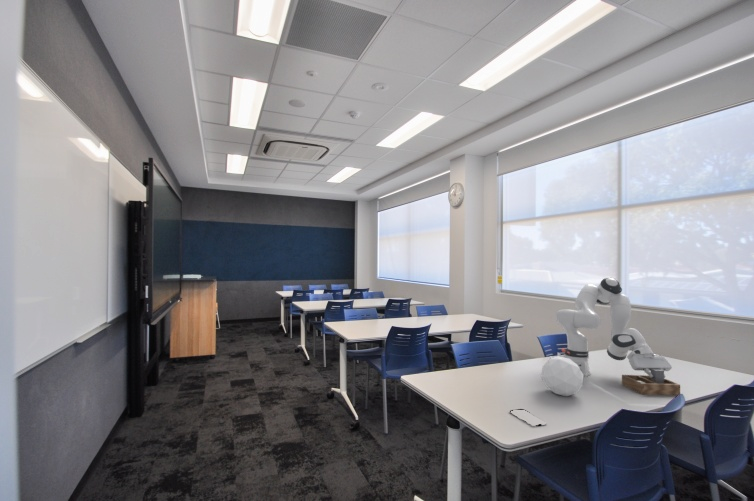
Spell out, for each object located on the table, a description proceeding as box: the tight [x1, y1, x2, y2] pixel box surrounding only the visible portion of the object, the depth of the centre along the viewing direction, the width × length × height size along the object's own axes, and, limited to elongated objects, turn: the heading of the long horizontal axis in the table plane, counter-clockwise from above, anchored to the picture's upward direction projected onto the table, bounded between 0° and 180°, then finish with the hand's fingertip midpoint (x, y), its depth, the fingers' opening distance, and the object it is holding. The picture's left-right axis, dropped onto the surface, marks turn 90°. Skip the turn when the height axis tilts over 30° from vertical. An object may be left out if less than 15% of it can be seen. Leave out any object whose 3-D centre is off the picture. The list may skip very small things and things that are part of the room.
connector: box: [650, 369, 665, 384], centre depth 190 cm, size 5×4×9 cm
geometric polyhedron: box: [540, 355, 584, 397], centre depth 183 cm, size 19×20×20 cm
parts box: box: [621, 374, 681, 396], centre depth 190 cm, size 20×15×6 cm
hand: (658, 377), depth 189 cm, fingers closed on connector, 4 cm apart
